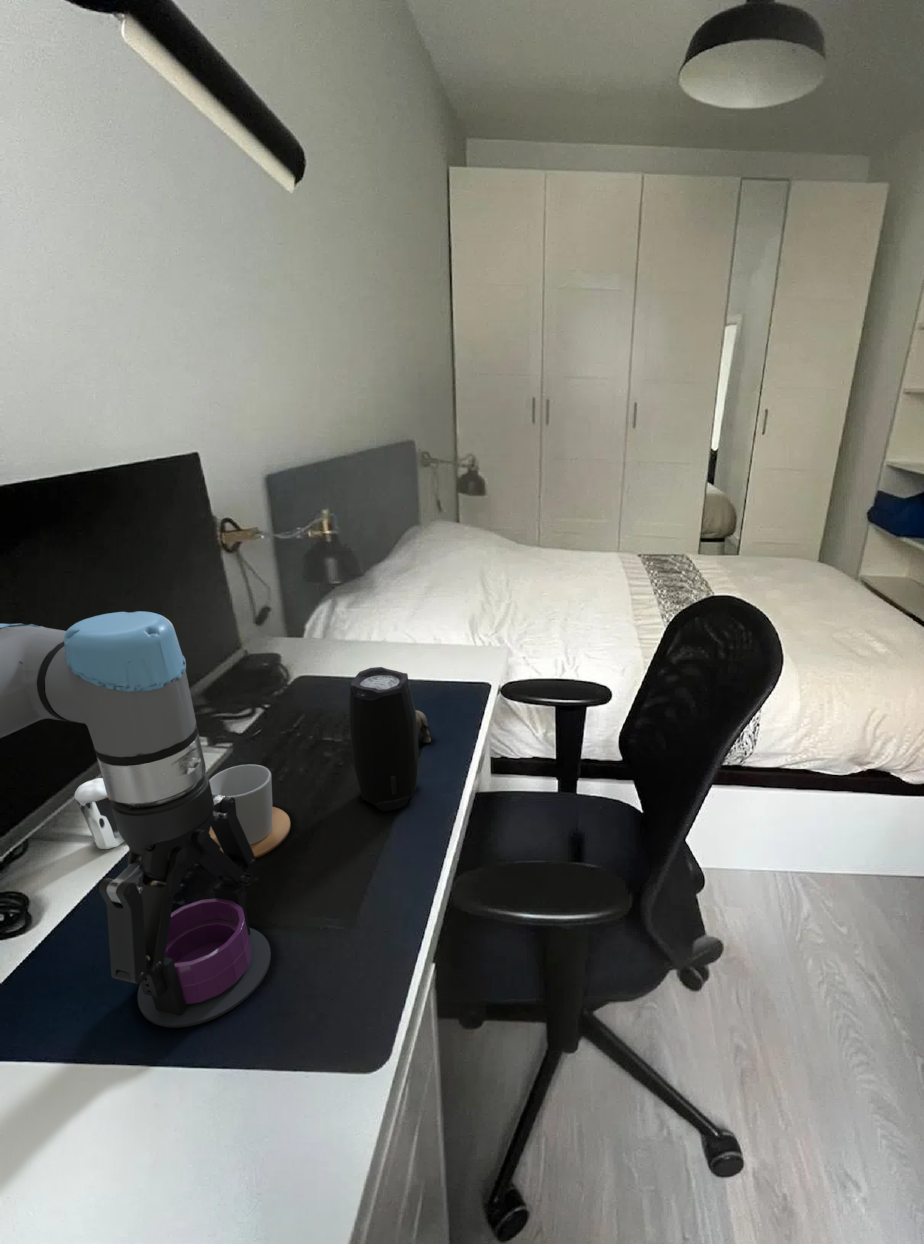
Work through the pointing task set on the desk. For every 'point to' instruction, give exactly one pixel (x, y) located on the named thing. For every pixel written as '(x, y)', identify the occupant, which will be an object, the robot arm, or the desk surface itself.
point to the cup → (248, 797)
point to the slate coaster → (221, 1002)
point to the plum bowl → (208, 947)
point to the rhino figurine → (422, 726)
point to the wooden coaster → (275, 836)
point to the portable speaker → (384, 737)
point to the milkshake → (98, 813)
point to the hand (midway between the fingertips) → (206, 969)
